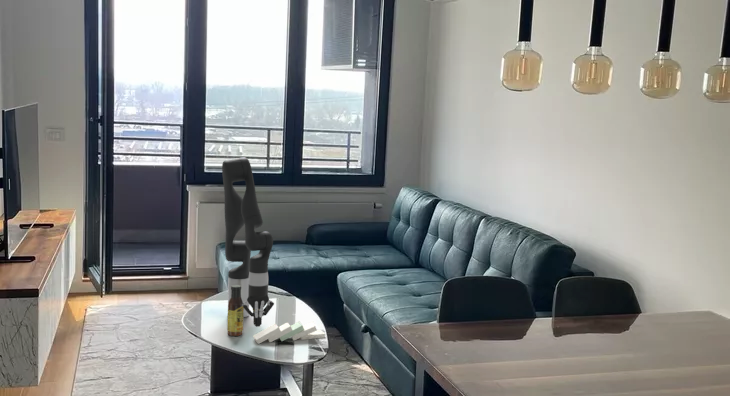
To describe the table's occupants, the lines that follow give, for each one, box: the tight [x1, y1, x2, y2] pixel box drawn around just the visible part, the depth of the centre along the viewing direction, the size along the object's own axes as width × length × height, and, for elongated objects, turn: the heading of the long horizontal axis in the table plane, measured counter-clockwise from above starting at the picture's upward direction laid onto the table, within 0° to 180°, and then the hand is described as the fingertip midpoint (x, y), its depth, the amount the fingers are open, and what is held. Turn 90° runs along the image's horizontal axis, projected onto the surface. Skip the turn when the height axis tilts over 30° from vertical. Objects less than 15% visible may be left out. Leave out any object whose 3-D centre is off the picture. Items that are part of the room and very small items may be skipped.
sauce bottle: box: [226, 285, 244, 337], centre depth 277 cm, size 7×6×20 cm
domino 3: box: [278, 321, 304, 342], centre depth 276 cm, size 5×2×10 cm
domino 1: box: [252, 323, 281, 345], centre depth 272 cm, size 5×2×10 cm
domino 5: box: [299, 329, 326, 341], centre depth 280 cm, size 5×2×10 cm
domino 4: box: [291, 321, 318, 341], centre depth 277 cm, size 5×2×10 cm
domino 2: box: [267, 322, 292, 343], centre depth 274 cm, size 5×2×10 cm
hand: (257, 326), depth 270 cm, fingers closed
